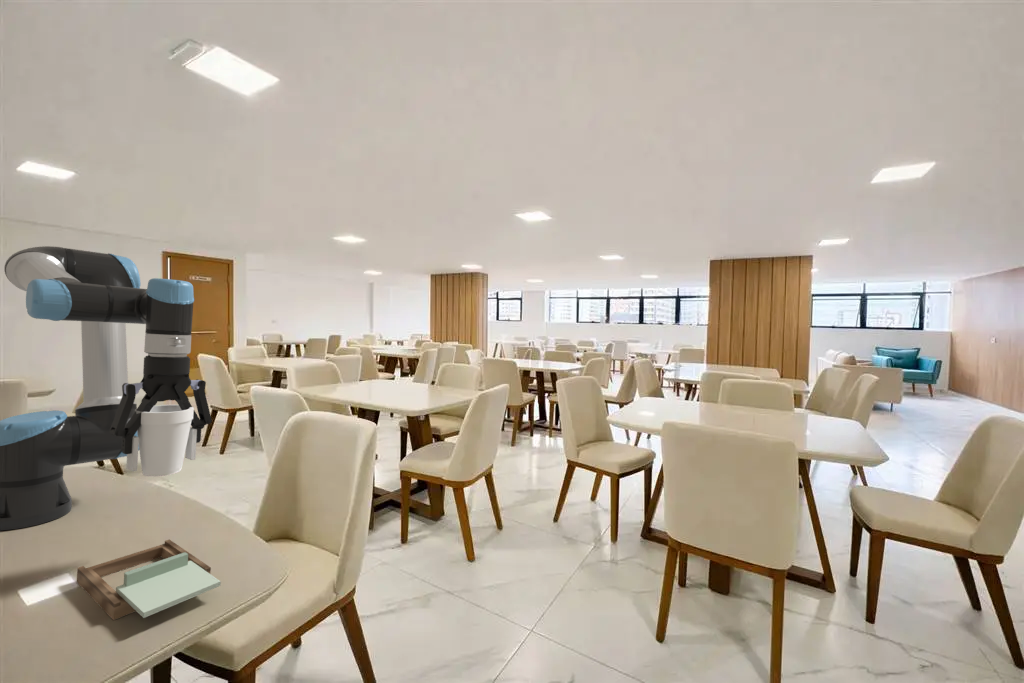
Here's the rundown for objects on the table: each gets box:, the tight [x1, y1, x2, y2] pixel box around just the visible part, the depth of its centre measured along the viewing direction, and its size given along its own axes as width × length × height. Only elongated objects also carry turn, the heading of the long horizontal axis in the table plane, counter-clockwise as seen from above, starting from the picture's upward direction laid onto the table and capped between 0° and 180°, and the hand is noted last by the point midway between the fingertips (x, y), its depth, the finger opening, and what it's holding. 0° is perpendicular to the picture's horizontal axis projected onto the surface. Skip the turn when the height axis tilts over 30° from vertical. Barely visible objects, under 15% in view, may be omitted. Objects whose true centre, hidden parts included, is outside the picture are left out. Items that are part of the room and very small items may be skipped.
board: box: [76, 539, 212, 621], centre depth 81 cm, size 17×14×3 cm
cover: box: [115, 552, 222, 619], centre depth 76 cm, size 11×11×3 cm
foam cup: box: [135, 404, 195, 477], centre depth 91 cm, size 10×9×13 cm
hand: (162, 463), depth 91 cm, fingers closed on foam cup, 9 cm apart
